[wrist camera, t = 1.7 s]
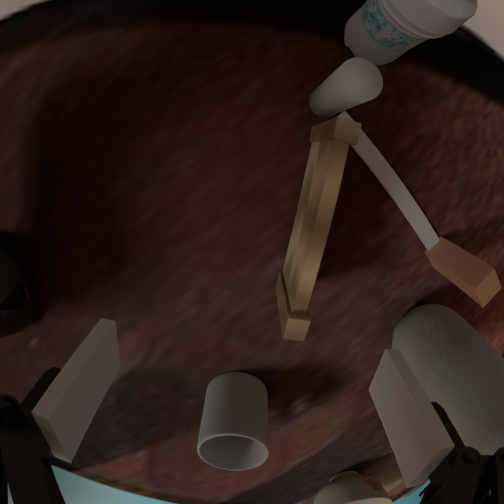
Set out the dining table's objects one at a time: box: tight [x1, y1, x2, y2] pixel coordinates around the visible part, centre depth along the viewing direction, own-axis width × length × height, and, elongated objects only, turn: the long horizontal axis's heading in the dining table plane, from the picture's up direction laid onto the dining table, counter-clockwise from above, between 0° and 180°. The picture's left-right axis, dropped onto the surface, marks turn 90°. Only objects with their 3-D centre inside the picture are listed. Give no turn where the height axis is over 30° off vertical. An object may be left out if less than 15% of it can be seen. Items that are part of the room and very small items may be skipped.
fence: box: [309, 57, 502, 308], centre depth 26 cm, size 26×3×12 cm, turn 44°
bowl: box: [314, 471, 392, 504], centre depth 45 cm, size 16×16×10 cm
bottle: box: [344, 0, 477, 66], centre depth 17 cm, size 7×7×20 cm
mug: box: [197, 372, 270, 471], centre depth 36 cm, size 12×8×11 cm
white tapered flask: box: [392, 304, 504, 495], centre depth 24 cm, size 10×10×28 cm
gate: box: [276, 117, 362, 342], centre depth 27 cm, size 18×2×10 cm, turn 169°
